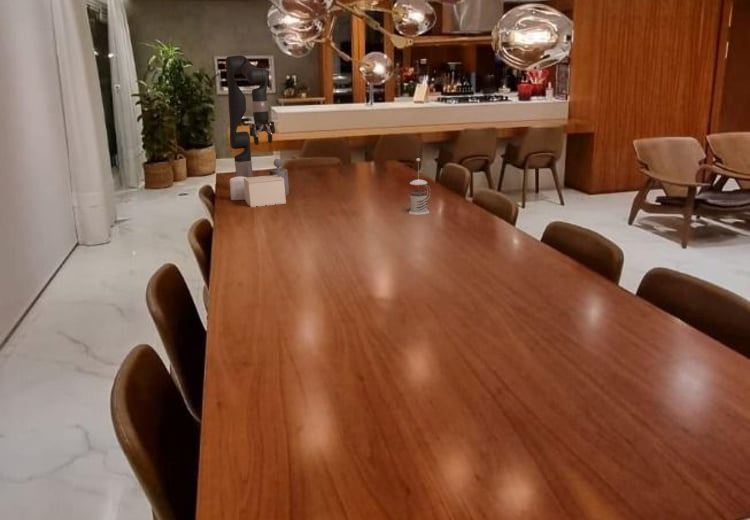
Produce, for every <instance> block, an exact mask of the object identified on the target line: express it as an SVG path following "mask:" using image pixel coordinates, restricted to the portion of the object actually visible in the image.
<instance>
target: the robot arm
mask: <svg viewBox="0 0 750 520" xmlns="http://www.w3.org/2000/svg"><path fill="white" fill-rule="evenodd" d="M225 70H226V72H225V73H226V79H227V94H228V113H229V114H228V115H229V143H230V147H231V148H232V149H233V150H238V149H239V150H240V149H243V150H242V151H241V152H240V153H238V154H236V155H235V156H234V167H235V175H236V176H235V177H239V176H242V177H247V178H248V177H254V173H253V163H252V154H251V152H252V151H251V137H253V143H254V145H255V146H259V145H260V141H259V136H260V134H261V132H265V133H266V135H267V143H269V144H272V143H273V135H274V134H276V128H275V122H274V121H269V120H270V115H269V114H270V113H269V103H268V96H267V95H268V94H267V89H268V83H269V77H270V74H269V71H268V69H267V68H265V67H257V66H256V65H253V64H252V63H251V62H250V61H249V59H248V58H247V57H246V56H244V55H227V57H225ZM235 75H243V76H244V77H245V78H246V80H247V82H248V83H249V84H259V87H256V88H254V89H252V90H251V97H252V98H251V99H252V114H253V116H252V117H253V121H254V123H249V132H248V131H238V127H239V124H240V122H241V120H242V119H243V118H244V115H245V114H246V111H247V99H246V98H247V97H246V96H245V94H244V93H243V91H242V89H241V88H240V87H239V86H238V84H237V81H236V79H235Z"/></svg>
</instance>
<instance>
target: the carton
mask: <svg viewBox="0 0 750 520" xmlns="http://www.w3.org/2000/svg"><path fill="white" fill-rule="evenodd" d="M244 188H245V198H246V200H245V203H246V202H247V203H246V205H248V206H249V207H250V208H257V207H256V206H258V207H265V205H267V206H273V205H274V206H275V204H276V205H284V204H287V200H286V199H287V198H286V196H285V185H284V180H276V181H266V182H256V183H248V182H246V181H245V180H244Z"/></svg>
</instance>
